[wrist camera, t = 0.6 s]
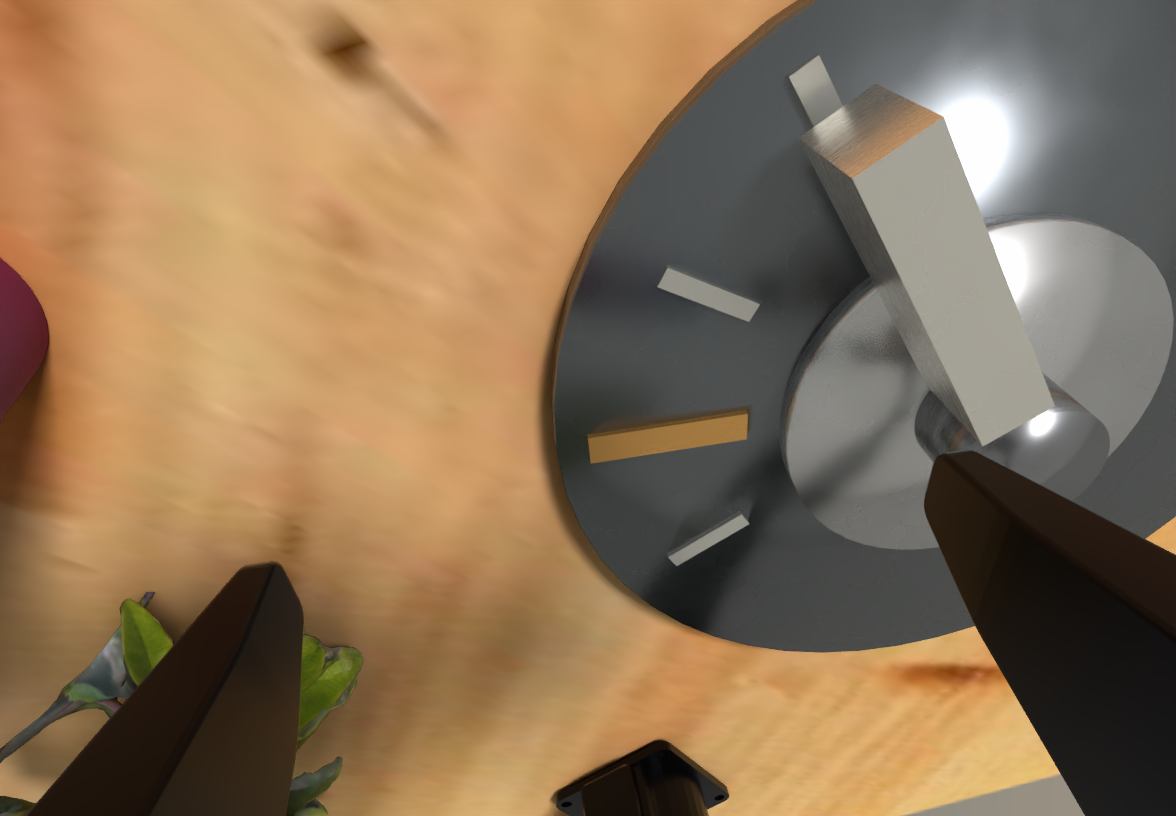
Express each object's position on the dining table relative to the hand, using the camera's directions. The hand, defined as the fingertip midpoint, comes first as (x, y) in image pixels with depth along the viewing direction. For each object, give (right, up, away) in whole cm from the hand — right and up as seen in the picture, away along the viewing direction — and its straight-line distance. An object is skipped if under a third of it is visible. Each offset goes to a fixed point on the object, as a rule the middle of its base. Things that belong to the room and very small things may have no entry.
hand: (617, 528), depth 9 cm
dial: (+10, +3, +13) cm, 17 cm away
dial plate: (+11, +3, +16) cm, 19 cm away
